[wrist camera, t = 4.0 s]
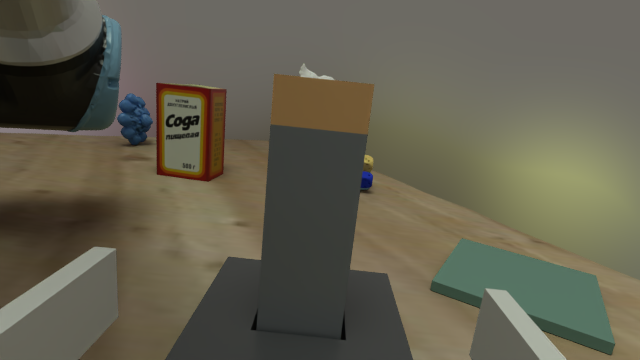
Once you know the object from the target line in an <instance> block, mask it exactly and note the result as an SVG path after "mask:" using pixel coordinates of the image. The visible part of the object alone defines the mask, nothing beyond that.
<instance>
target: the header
mask: <svg viewBox="0 0 640 360" xmlns="http://www.w3.org/2000/svg"><path fill="white" fill-rule="evenodd" d="M260 271H261V260H254V259H245V258H236V257H228V258H227V260H226V261H225V263H224V265H223V266H222V268H221V269H220V271H219V273H218V274H217V276H216V278H215V279H214V281H213V282H212V284H211V286H210V287H209V289H208V291H207V292H206V294H205V295H204V297H203V299H202V300H201V302H200V304H199V305H198V307H197V309H196V310H195V312H194V313H193V315H192V317H191V318H190V320H189V322H188V323H187V325H186V326H185V328H184V330H183V331H182V333H181V335H180V336H179V338H178V339H177V341H176V343H175V344H174V346H173V348H172V349H171V351H170V353H169V354H168V356H167V357H166V359H165V360H413V358H412V355H411V351H410V348H409V345H408V341H407V338H406V335H405V331H404V328H403V325H402V322H401V318H400V315H399V312H398V308H397V305H396V302H395V298H394V295H393V292H392V288H391V285H390V282H389V279H388V275H387V274H385V273H375V272H366V271H357V270H350V271H349V278H348V286H347V293H346V301H345V308H344V316H343V323H342V331H341V338H340V340H339V339H329V338H320V337H311V336H302V335H292V334H283V333H274V332H265V331H256V329H257V314H258V300H259V286H260Z"/></svg>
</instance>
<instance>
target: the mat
mask: <svg viewBox="0 0 640 360" xmlns="http://www.w3.org/2000/svg"><path fill="white" fill-rule="evenodd" d="M485 288H487V289H496V290H506V291H507V292H508V293H509V294H510V295H511V296H512V298H513V299H514V300H515V301H516V302H517V303H518V304H519V306H520V307H521V308H522V309H523V310H524V311H525V312H526V314H527V315H528V316H529V317H530V318H531V319H532V320H533V322H534V323H535V324H536V325H537V326H538V327H539V329H540V330H543V331H546V332H548V333H551V334H554V335H557V336H560V337H562V338H565V339H568V340H571V341H573V342H576V343H579V344H582V345H585V346H587V347H590V348H593V349H596V350H598V351H601V352H604V353H607V354H610V355H611V354H612V351H613V349H614V346H615V342H614V338H613V335H612V331H611V328H610V324H609V320H608V317H607V313H606V310H605V306H604V303H603V299H602V295H601V292H600V288H599V285H598V281H597V278H596V276H595V275H592V274H588V273H585V272H581V271H577V270H574V269H570V268H567V267H563V266H559V265H556V264H552V263H549V262H545V261H541V260H538V259H534V258H531V257H527V256H524V255H520V254H516V253H513V252H509V251H506V250H502V249H498V248H495V247H491V246H488V245H484V244H481V243H477V242H473V241H470V240H466V239H463V238H462V239H461V240H460V242H459V243H458V245H457V246H456V247H455V249H454V250H453V252H452V253H451V255H450V256H449V257H448V259H447V260H446V262H445V263H444V265H443V266H442V267H441V269H440V270H439V272H438V273H437V275H436V276H435V277H434V279H433V280H432V284H431V290H432V291H434V292H437V293H440V294H443V295H446V296H448V297H451V298H454V299H457V300H459V301H462V302H465V303H468V304H471V305H473V306H476V307H479V308H480V307H481V302H482V298H483V294H484V290H485Z"/></svg>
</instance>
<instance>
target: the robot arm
mask: <svg viewBox="0 0 640 360" xmlns="http://www.w3.org/2000/svg"><path fill="white" fill-rule="evenodd" d="M121 39H122V38H121V27H120V24H119V23H118V22H117V21H116V20H113V19H110V18H108V17H107V16H103V15H102V14H101V10H100V7H99V4H98V2H97V1H96V0H0V127H2V128H25V129H43V130H63V131H69V132H76V131H79V130H103V129H106V128H108V127H109V126H110V125H111V124H112V123H113V122H114V119H115V116H116V110H117V103H118V93H119V83H118V82H119V77H120V69H121V67H120V66H121ZM117 318H118V293H117V264H116V249H113V248H104V247H93V248H92V249H90V250H89V251H87V252H86V253H84V254H83V255H81V256H80V257H78V258H76V259H75V260H73V261H72V262H70V263H69V264H67V265H66V266H64V267H63V268H61V269H60V270H58V271H57V272H55V273H54V274H52V275H51V276H49V277H48V278H46V279H45V280H43V281H42V282H40V283H39V284H37V285H36V286H34V287H33V288H31V289H30V290H28V291H27V292H25V293H24V294H22V295H21V296H19V297H18V298H16V299H15V300H13V301H12V302H10V303H9V304H7V305H6V306H4V307H2V308H1V309H0V360H78V359H79V358H80V357H81V356H82V355H83V354H84V353H85V352H86V351H87V350H88V349H89V348H90V347H91V346H92V345H93V343H94V342H95V341H96V340H97V339H98V338H99V337H100V336H101V335H102V334H103V333H104V332H105V331H106V330H107V329H108V327H109V326H110V325H111V324H112V323H113V322H114V321H115V320H116V319H117ZM469 355H470V357H471V359H472V360H567V359H566V358H565V357H564V356H563V355H562V354H561V353H560V351H559V350H558V349H557V348H556V347H555V346H554V345H553V343H552V342H551V341H550V340H549V339H548V338H547V337H546V335H545V334H544V333H543V332H542V331H541V330H540V329H539V327H538V326H537V325H536V324H535V323H534V322H533V320H532V319H531V318H530V317H529V316H528V315H527V314H526V312H525V311H524V310H523V309H522V308H521V307H520V306H519V304H518V303H517V302H516V301H515V300H514V299H513V298H512V296H511V295H510V294H509V293H508V292H507V291H506V290H496V289H487V288H485V290H484V294H483V298H482V302H481V307H480V311H479V315H478V320H477V324H476V328H475V333H474V337H473V341H472V346H471V350H470V354H469Z"/></svg>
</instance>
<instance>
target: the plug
mask: <svg viewBox="0 0 640 360" xmlns="http://www.w3.org/2000/svg"><path fill="white" fill-rule="evenodd" d="M373 90H374V84H366V83H356V82H347V81H346V82H345V81H337V80H328V79H318V78H309V77H299V76H289V75H279V74H274V83H273V97H272V98H273V99H272V113H271V126H270V141H269V155H268V170H267V184H266V199H265V213H264V228H263V242H262V257H261V271H260V286H259V300H258V314H257V329H256V331H265V332H274V333H283V334H292V335H302V336H311V337H320V338H329V339H339V340H340V338H341V331H342V323H343V316H344V308H345V301H346V293H347V286H348V278H349V271H350V263H351V256H352V248H353V241H354V233H355V226H356V218H357V211H358V203H359V196H360V188H361V181H362V173H363V166H364V158H365V150H366V143H367V136H368V128H369V121H370V113H371V106H372V98H373Z"/></svg>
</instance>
